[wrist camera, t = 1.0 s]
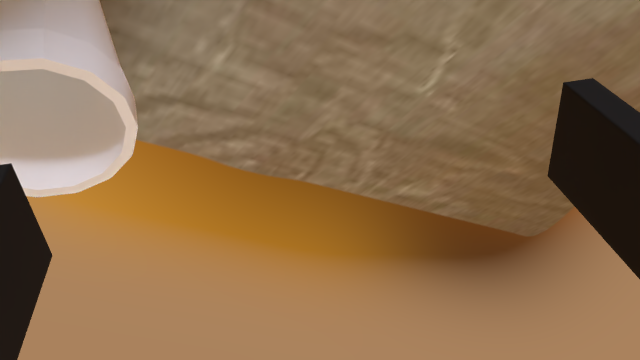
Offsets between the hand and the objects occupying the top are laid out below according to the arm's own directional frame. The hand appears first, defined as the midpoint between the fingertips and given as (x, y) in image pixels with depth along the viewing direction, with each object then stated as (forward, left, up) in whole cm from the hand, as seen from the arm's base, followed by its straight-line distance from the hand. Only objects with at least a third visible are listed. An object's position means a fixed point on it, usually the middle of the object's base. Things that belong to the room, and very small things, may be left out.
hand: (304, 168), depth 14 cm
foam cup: (-4, -14, -28) cm, 31 cm away
